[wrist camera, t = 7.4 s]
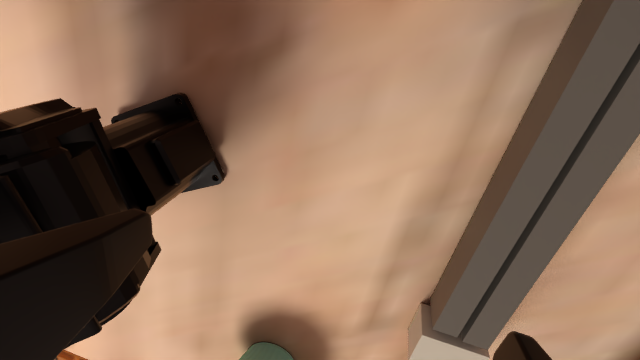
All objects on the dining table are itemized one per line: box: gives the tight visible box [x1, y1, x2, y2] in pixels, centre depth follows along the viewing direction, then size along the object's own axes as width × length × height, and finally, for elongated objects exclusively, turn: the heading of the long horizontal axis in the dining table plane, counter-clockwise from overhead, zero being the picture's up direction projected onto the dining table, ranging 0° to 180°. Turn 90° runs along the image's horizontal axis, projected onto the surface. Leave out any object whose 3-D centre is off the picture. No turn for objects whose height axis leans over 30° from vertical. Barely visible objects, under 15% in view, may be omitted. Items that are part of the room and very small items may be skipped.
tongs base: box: [408, 43, 640, 360], centre depth 17 cm, size 28×5×3 cm, turn 169°
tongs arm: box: [430, 0, 640, 337], centre depth 17 cm, size 24×2×3 cm, turn 169°
